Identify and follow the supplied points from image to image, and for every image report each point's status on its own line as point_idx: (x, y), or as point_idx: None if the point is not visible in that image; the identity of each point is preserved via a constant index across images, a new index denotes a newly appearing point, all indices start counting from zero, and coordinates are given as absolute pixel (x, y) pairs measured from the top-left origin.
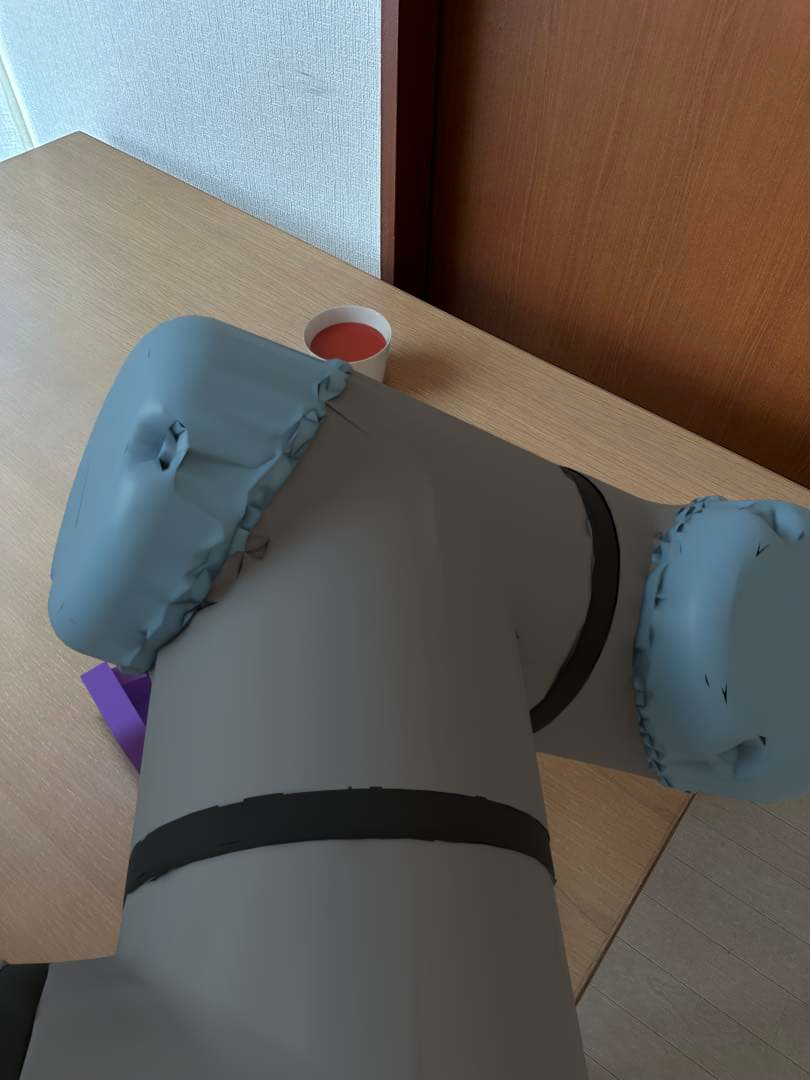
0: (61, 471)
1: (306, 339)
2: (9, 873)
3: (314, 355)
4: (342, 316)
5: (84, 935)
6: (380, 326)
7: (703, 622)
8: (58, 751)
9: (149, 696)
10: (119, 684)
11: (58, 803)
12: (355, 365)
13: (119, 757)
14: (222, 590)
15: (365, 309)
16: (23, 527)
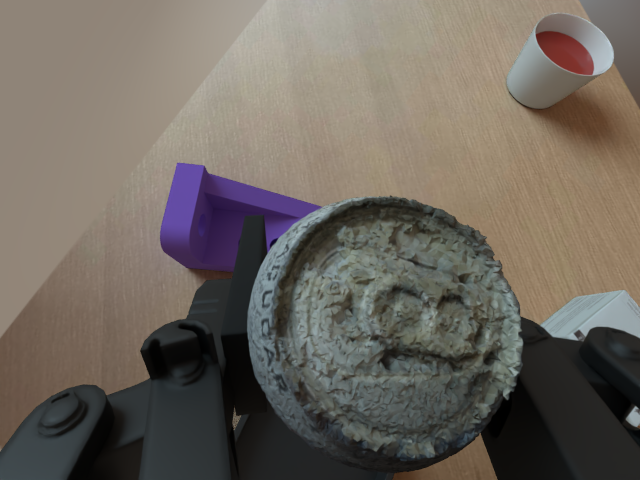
0: (301, 16)
1: (536, 27)
2: (65, 257)
3: (536, 42)
4: (575, 29)
5: (70, 340)
6: (599, 57)
7: None
8: (156, 199)
9: (228, 211)
10: (197, 192)
11: (128, 234)
12: (561, 73)
13: None
14: None
15: (601, 34)
16: (252, 35)
